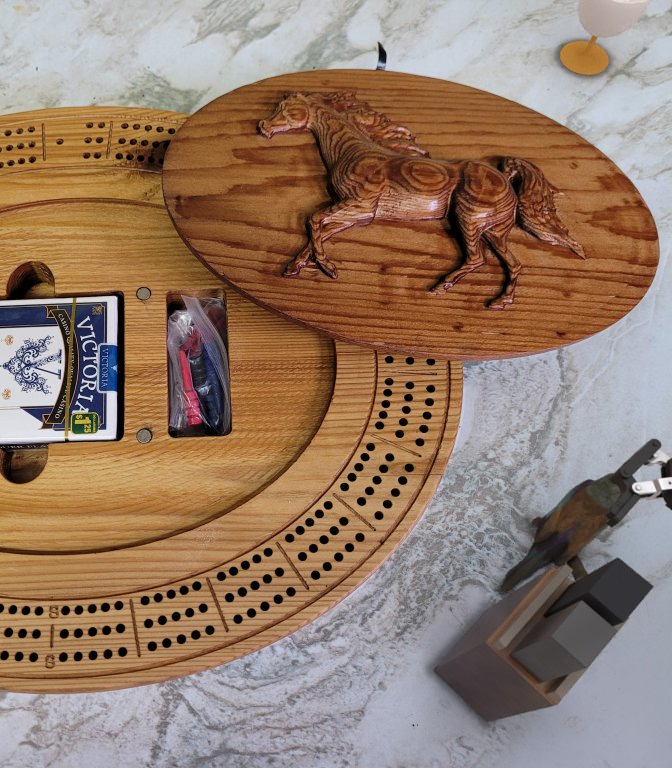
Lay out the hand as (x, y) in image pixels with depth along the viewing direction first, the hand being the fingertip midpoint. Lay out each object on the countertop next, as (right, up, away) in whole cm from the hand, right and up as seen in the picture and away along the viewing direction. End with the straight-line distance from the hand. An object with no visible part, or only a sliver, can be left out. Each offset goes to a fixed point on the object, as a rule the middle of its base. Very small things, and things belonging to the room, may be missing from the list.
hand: (649, 553), depth 82 cm
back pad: (-4, -8, +9) cm, 12 cm away
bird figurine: (+8, -7, +36) cm, 37 cm away
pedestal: (-5, -21, +29) cm, 36 cm away
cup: (+33, +80, +77) cm, 116 cm away
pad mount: (-6, -11, +9) cm, 15 cm away
